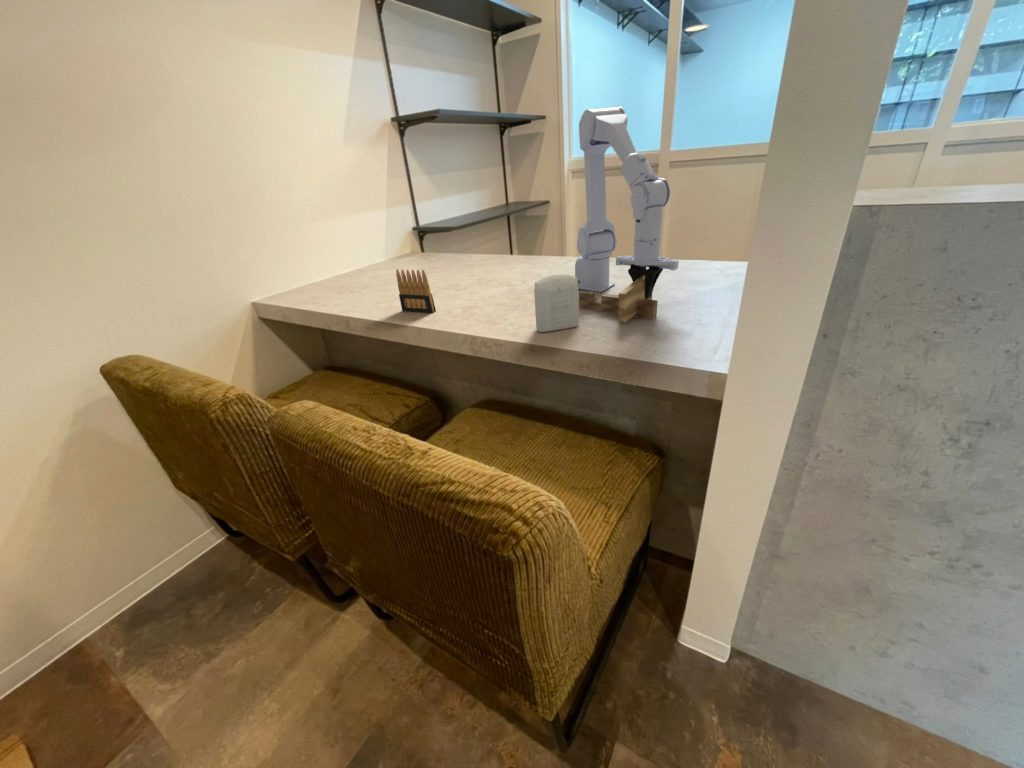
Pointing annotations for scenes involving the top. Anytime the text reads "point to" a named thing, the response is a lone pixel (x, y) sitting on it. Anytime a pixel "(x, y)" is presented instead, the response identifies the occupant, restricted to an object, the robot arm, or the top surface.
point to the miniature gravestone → (556, 303)
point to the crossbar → (631, 299)
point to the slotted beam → (616, 304)
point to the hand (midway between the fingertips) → (643, 296)
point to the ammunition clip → (415, 292)
